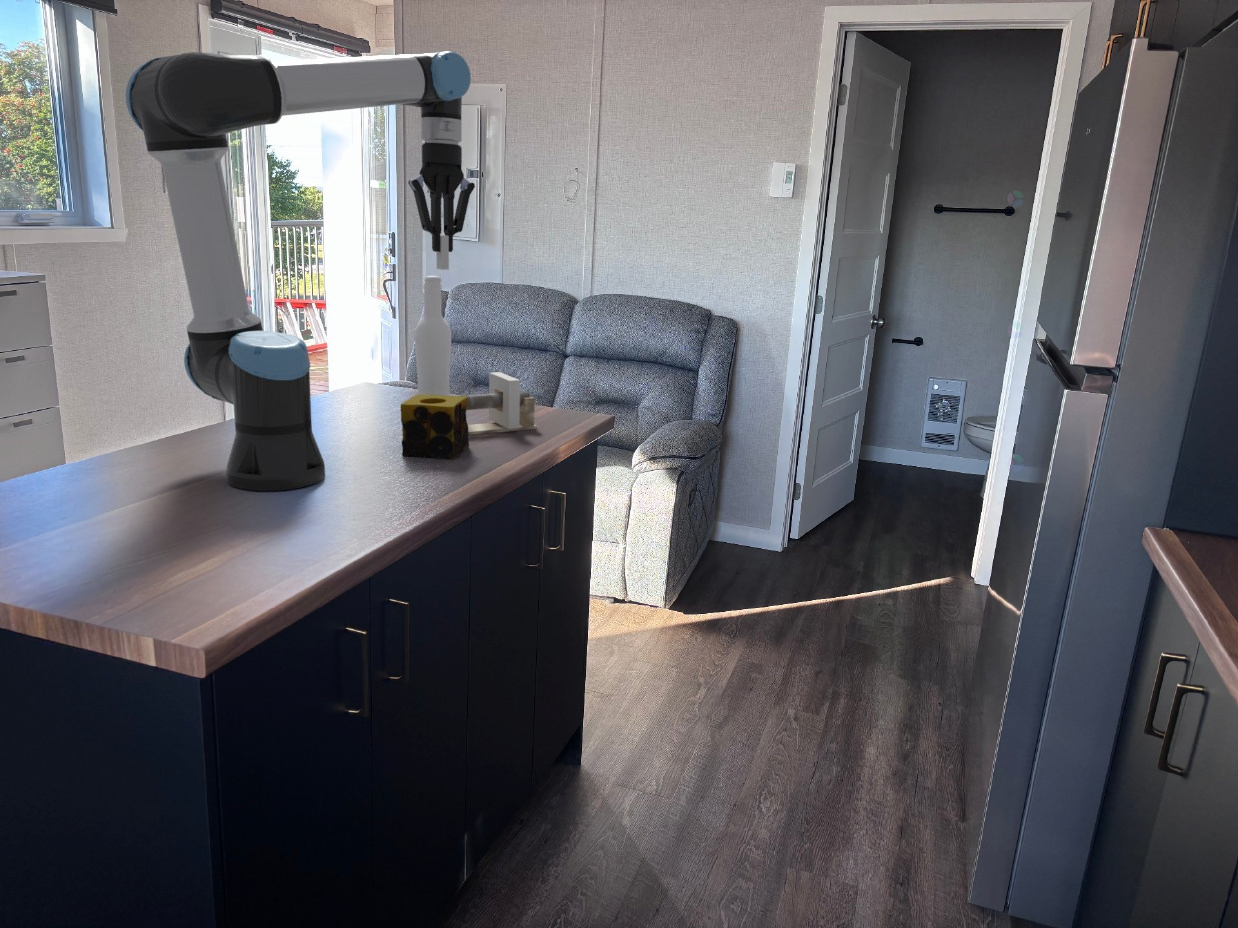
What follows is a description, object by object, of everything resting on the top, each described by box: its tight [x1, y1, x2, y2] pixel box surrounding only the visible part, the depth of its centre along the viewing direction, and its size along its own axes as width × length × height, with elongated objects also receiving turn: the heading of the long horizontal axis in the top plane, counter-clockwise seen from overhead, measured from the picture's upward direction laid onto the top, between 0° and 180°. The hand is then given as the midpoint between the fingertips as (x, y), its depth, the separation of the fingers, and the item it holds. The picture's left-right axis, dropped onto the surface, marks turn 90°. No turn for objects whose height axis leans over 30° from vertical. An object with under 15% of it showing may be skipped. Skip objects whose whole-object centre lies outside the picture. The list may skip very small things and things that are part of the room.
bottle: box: [413, 275, 452, 396], centre depth 199 cm, size 8×8×30 cm
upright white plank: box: [488, 371, 521, 429], centre depth 191 cm, size 2×10×10 cm, turn 31°
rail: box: [463, 390, 538, 436], centre depth 190 cm, size 19×6×8 cm, turn 121°
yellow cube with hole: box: [400, 393, 470, 460], centre depth 171 cm, size 10×10×10 cm
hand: (442, 269), depth 182 cm, fingers closed
